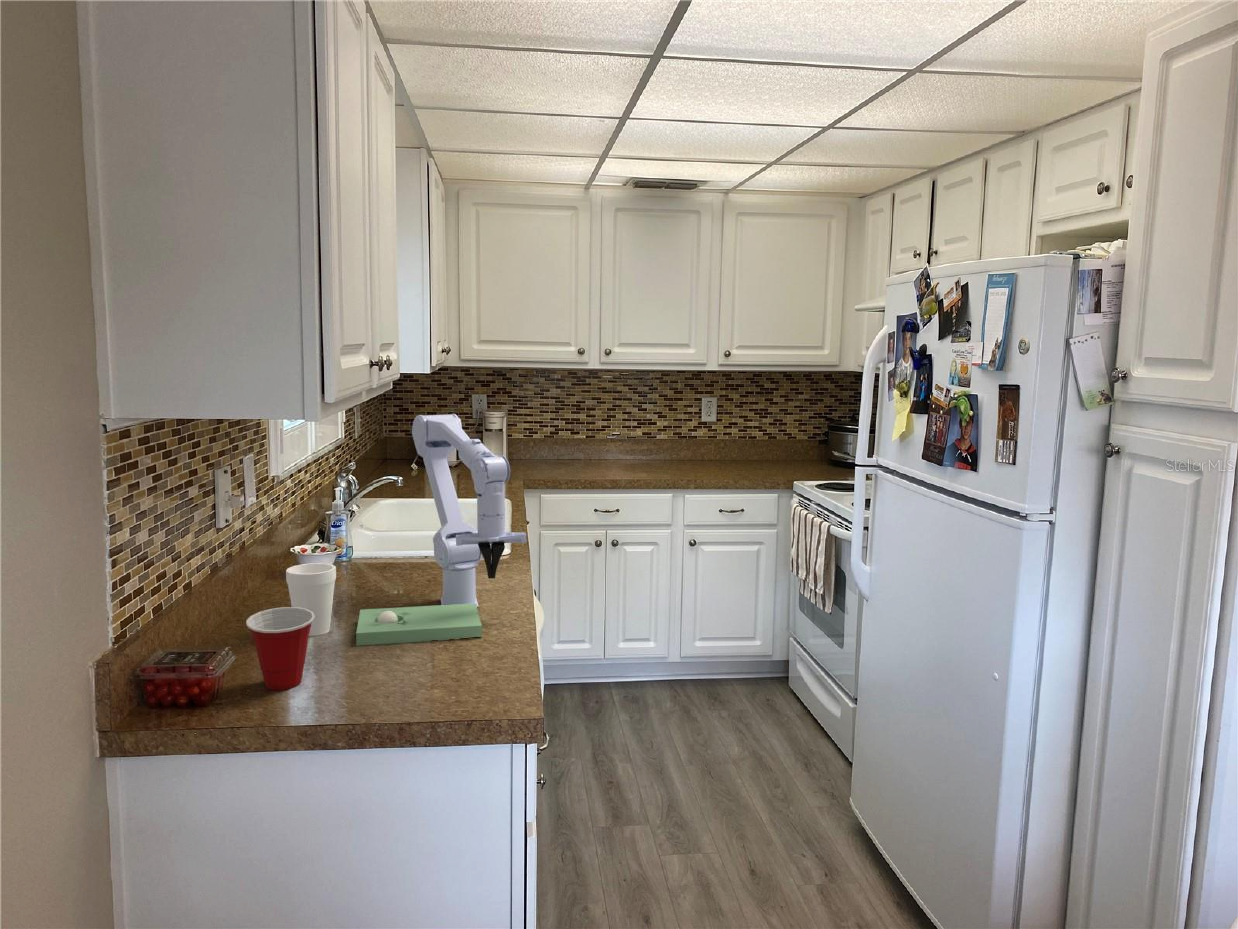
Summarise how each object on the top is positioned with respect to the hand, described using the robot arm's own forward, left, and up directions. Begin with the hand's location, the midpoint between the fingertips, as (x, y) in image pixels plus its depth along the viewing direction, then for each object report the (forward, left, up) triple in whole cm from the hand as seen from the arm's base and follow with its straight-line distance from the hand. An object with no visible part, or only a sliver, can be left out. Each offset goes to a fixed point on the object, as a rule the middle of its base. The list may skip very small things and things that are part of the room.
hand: (491, 577), depth 184 cm
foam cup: (0, -36, -10) cm, 37 cm away
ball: (+3, -21, -7) cm, 23 cm away
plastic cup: (+29, -38, -10) cm, 49 cm away
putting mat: (+3, -15, -9) cm, 18 cm away
